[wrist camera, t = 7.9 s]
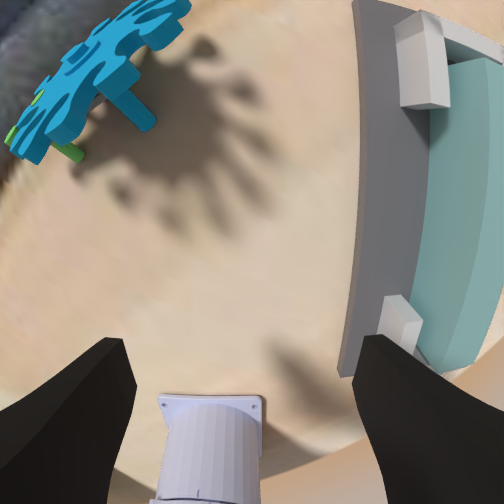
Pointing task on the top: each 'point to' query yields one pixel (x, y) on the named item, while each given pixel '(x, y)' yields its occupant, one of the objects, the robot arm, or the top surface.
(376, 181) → the cradle
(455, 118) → the teal rectangular block
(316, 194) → the top surface
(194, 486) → the robot arm
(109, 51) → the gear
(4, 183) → the top surface
